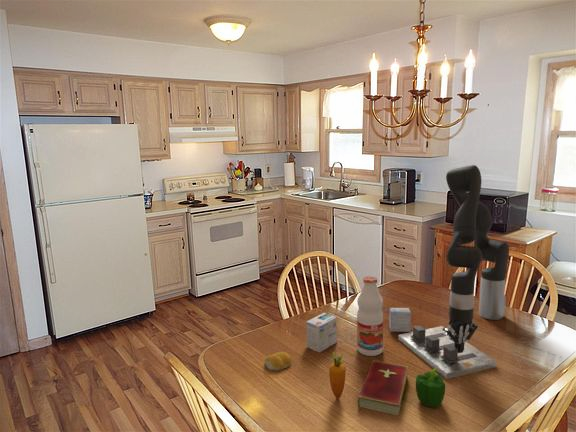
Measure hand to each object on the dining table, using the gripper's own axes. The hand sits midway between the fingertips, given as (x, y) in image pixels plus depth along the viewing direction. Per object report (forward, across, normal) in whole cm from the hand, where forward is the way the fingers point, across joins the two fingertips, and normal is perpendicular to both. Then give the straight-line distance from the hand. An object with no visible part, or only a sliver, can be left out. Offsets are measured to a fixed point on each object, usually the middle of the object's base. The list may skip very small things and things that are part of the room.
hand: (459, 351), depth 140 cm
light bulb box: (+5, +38, -29) cm, 49 cm away
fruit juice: (+5, +24, -19) cm, 31 cm away
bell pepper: (+5, +22, +14) cm, 26 cm away
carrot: (+5, +46, +3) cm, 47 cm away
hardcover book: (+5, +31, +4) cm, 32 cm away
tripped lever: (+2, +3, 0) cm, 4 cm away
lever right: (+2, +5, -16) cm, 17 cm away
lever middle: (+2, +4, -8) cm, 10 cm away
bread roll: (+5, +58, -22) cm, 62 cm away
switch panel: (+5, 0, -8) cm, 9 cm away
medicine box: (+5, +4, -29) cm, 30 cm away
